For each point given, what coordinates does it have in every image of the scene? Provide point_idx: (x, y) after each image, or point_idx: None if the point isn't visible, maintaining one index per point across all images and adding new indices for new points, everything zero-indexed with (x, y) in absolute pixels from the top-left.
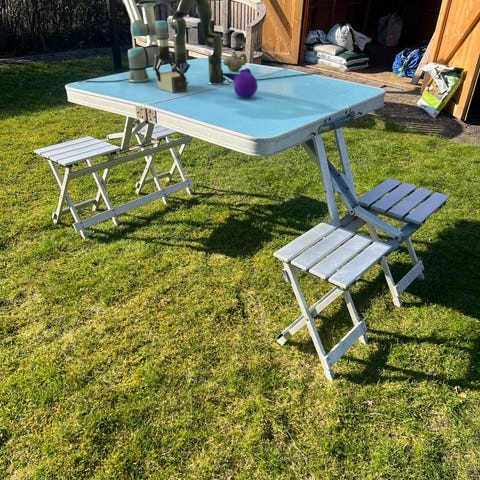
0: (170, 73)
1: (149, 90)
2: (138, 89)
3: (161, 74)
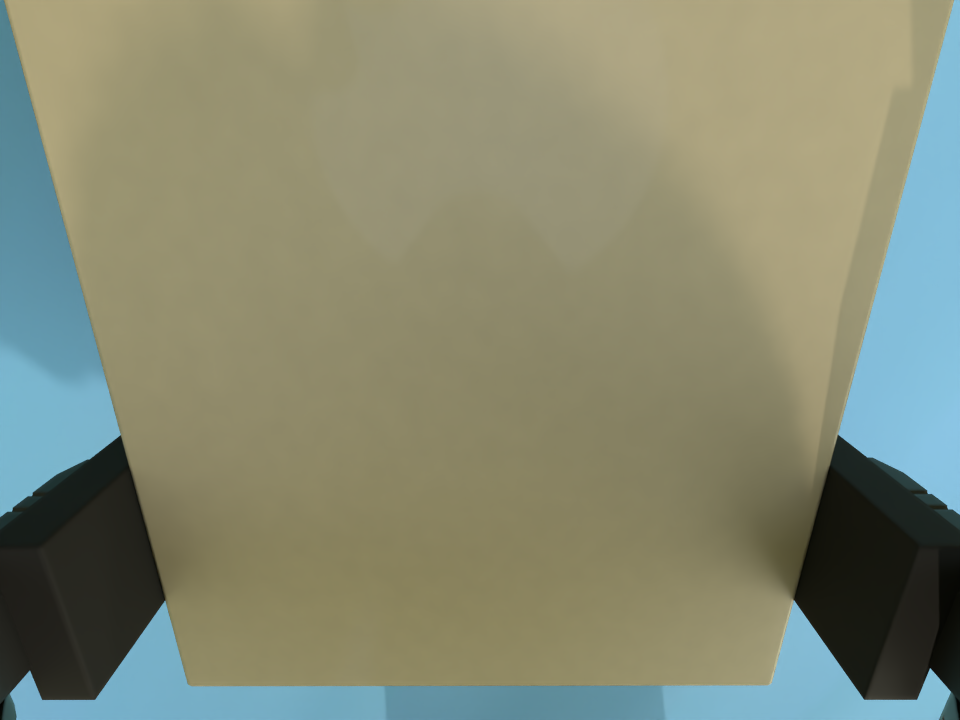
0: (407, 246)
1: (874, 361)
2: None
3: (862, 333)
